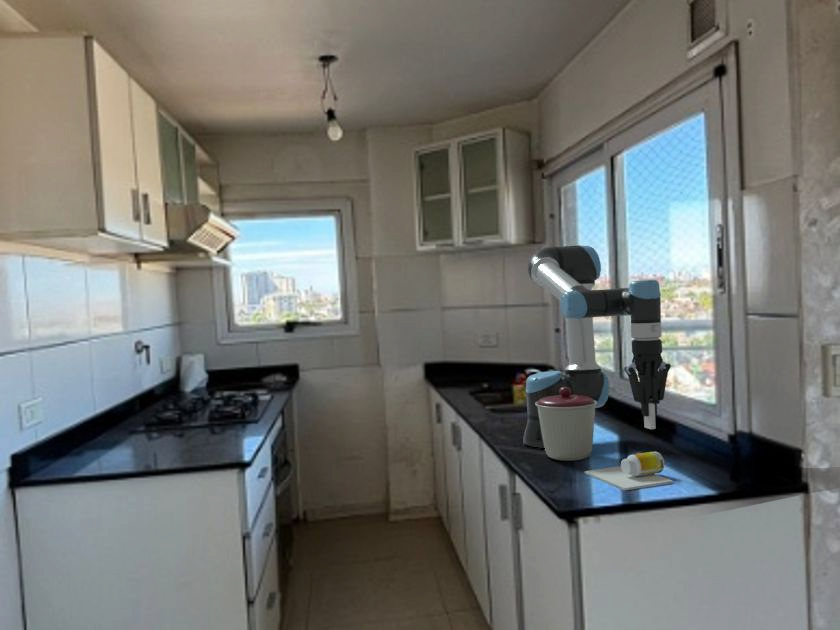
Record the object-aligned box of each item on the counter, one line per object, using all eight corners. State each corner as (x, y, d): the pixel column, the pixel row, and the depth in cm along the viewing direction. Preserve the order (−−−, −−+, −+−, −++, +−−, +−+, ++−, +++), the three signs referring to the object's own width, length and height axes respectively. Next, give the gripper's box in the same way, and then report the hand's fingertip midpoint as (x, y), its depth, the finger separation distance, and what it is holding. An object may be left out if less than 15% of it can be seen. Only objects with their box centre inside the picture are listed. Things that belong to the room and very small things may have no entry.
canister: (526, 455, 199) (523, 386, 198) (576, 447, 205) (573, 381, 205) (559, 467, 182) (555, 393, 181) (612, 459, 188) (609, 387, 188)
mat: (584, 473, 175) (584, 471, 175) (629, 467, 179) (629, 464, 179) (624, 490, 157) (624, 488, 157) (672, 483, 161) (672, 480, 161)
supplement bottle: (655, 446, 170) (622, 451, 167) (668, 461, 166) (634, 466, 163) (649, 462, 173) (616, 466, 170) (661, 477, 169) (628, 482, 166)
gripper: (633, 341, 164) (637, 433, 165) (676, 337, 168) (680, 428, 169) (616, 339, 171) (620, 428, 172) (658, 336, 175) (661, 422, 176)
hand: (649, 428), depth 171 cm, fingers closed
